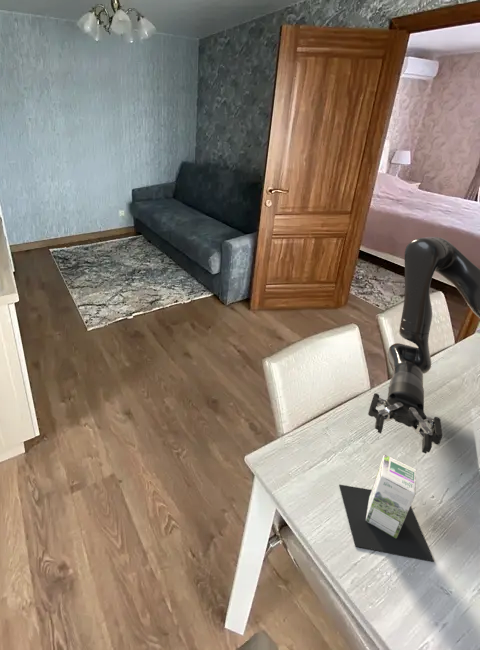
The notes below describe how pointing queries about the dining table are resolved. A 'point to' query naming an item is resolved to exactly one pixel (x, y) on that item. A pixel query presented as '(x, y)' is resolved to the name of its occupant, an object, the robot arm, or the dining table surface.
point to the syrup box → (391, 496)
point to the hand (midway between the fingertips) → (402, 440)
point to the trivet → (375, 539)
